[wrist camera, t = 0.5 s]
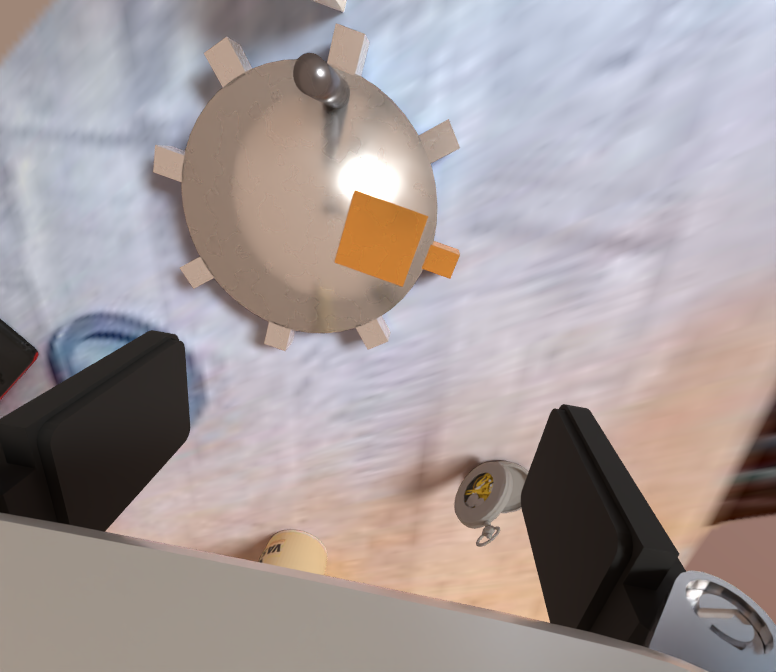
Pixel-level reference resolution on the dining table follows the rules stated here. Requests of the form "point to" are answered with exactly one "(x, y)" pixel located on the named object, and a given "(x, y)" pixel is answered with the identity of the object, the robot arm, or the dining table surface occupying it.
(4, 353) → the game console
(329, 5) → the link block
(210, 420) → the dining table surface
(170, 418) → the robot arm
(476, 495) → the pocket watch
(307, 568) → the coffee cup
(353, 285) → the sprocket
